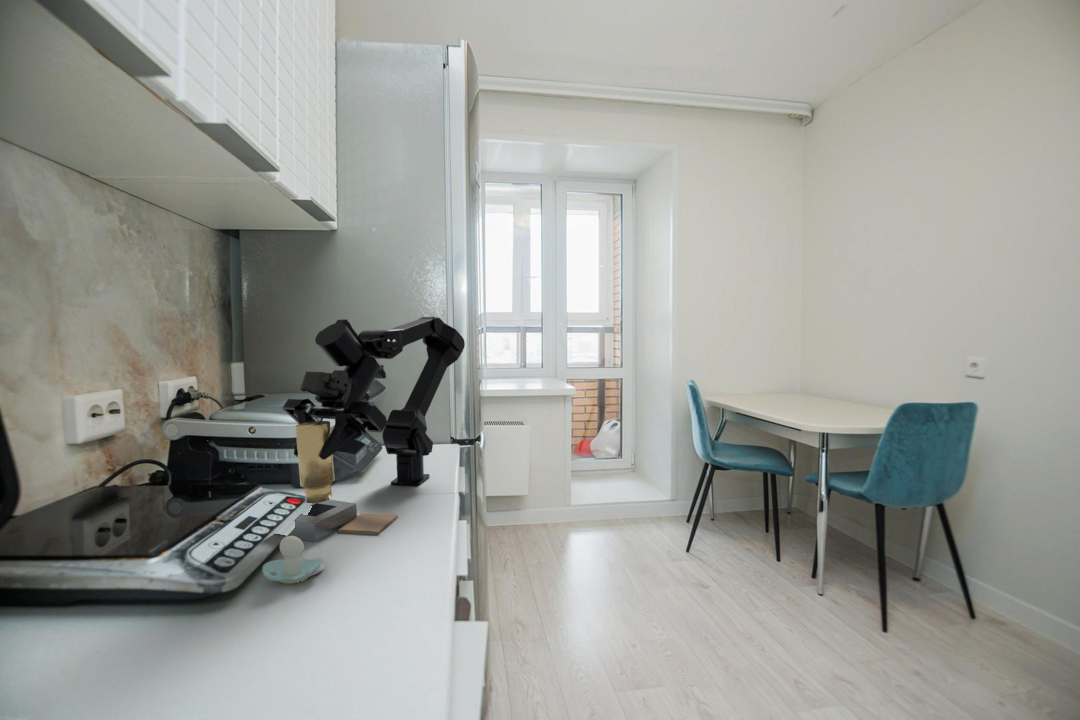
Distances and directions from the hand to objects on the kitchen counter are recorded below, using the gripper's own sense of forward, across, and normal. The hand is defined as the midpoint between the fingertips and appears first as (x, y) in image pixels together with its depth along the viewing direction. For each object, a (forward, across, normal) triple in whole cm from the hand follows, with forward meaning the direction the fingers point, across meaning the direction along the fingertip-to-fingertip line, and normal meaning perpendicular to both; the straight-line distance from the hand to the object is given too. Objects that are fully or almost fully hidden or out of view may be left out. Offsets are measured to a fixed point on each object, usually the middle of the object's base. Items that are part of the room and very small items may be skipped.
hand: (308, 456), depth 77 cm
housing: (+8, 0, +10) cm, 13 cm away
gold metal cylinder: (+5, 0, +6) cm, 8 cm away
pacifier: (+17, +10, +1) cm, 20 cm away
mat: (+5, +8, +12) cm, 15 cm away
